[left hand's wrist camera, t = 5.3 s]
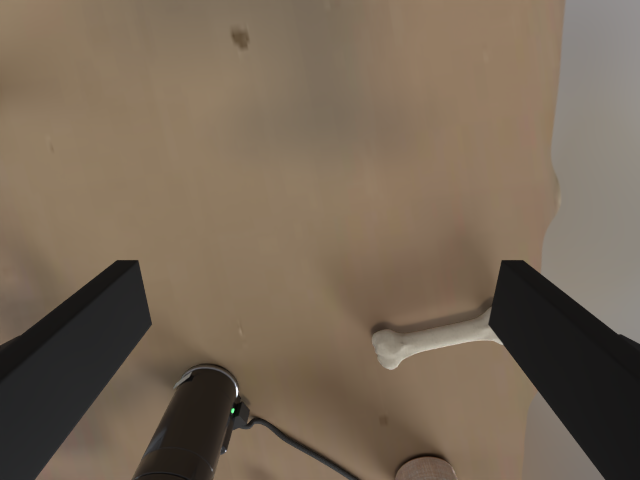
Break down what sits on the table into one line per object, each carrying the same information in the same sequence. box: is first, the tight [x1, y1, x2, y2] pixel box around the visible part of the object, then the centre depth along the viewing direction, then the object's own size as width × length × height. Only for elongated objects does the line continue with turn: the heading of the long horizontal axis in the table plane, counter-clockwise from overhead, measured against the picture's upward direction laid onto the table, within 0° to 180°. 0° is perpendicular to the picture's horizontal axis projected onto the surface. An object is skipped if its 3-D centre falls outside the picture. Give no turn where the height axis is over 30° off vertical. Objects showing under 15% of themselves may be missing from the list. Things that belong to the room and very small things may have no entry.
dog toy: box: [372, 307, 503, 370], centre depth 50 cm, size 20×6×5 cm, turn 105°
